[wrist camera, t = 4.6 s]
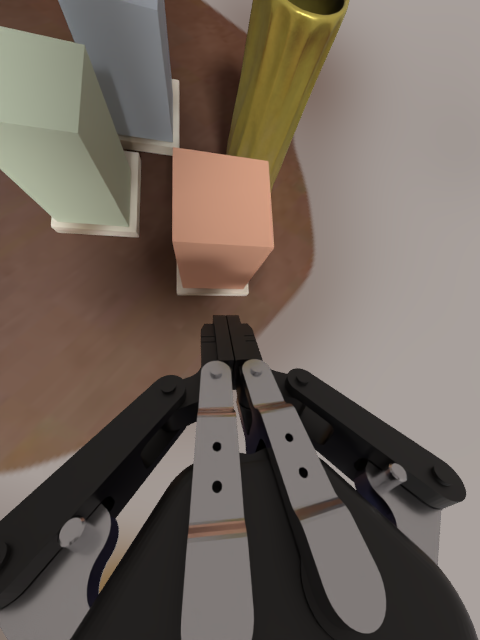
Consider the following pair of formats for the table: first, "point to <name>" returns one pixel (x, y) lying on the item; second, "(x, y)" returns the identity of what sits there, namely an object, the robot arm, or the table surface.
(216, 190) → the terracotta block
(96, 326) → the table surface
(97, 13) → the slate block
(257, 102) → the vase
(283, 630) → the robot arm
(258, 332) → the table surface
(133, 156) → the block bases
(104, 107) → the sage block
